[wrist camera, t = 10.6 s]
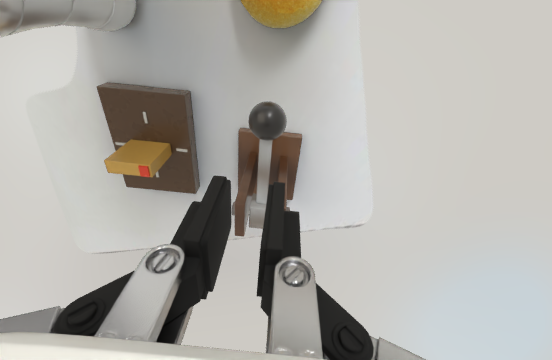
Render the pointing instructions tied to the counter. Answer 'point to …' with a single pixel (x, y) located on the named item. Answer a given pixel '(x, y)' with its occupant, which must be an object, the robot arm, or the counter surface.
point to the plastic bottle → (64, 14)
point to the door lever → (264, 153)
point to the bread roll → (280, 11)
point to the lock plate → (154, 131)
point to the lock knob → (138, 158)
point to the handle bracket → (248, 156)
